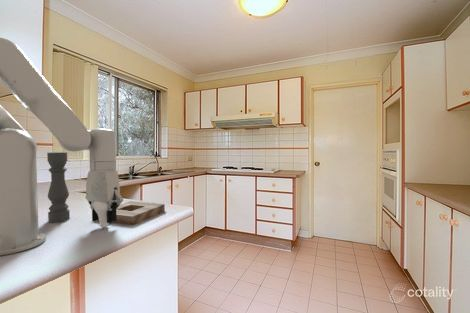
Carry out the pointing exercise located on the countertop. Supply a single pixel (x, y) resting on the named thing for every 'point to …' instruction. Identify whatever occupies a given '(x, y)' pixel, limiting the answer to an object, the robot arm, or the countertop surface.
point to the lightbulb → (101, 212)
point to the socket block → (137, 212)
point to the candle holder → (58, 188)
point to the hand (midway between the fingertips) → (104, 220)
